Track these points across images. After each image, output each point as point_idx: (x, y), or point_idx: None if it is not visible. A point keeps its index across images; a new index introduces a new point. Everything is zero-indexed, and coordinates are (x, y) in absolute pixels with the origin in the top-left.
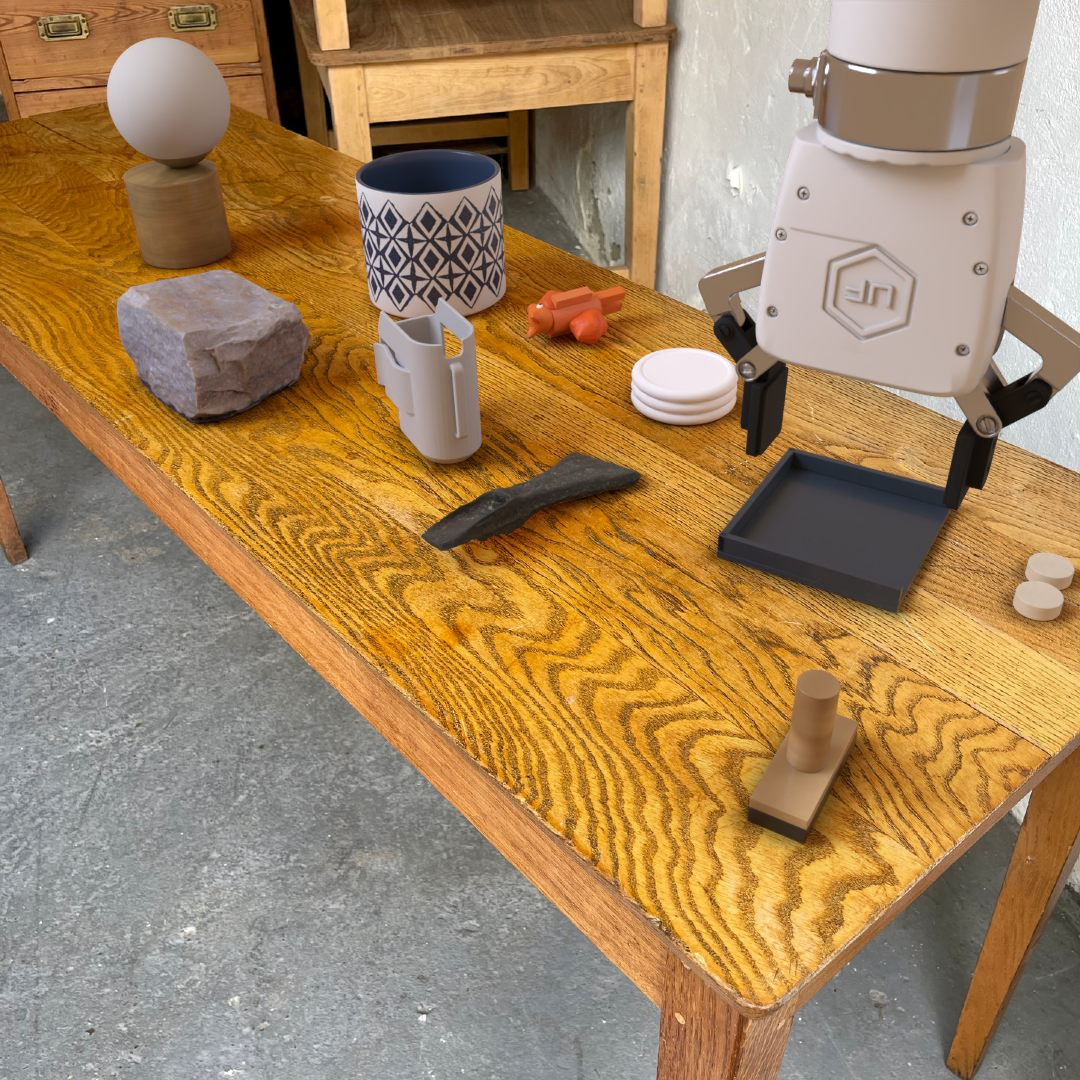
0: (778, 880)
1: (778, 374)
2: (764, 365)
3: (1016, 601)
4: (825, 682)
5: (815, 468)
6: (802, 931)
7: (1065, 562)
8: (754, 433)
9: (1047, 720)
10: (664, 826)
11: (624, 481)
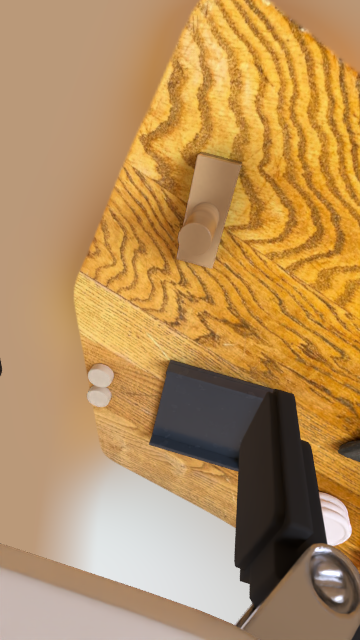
0: (214, 110)
1: (252, 553)
2: (291, 595)
3: (110, 373)
4: (189, 242)
5: (226, 458)
6: (193, 64)
7: (91, 401)
8: (285, 424)
9: (83, 294)
10: (303, 136)
11: (350, 446)
